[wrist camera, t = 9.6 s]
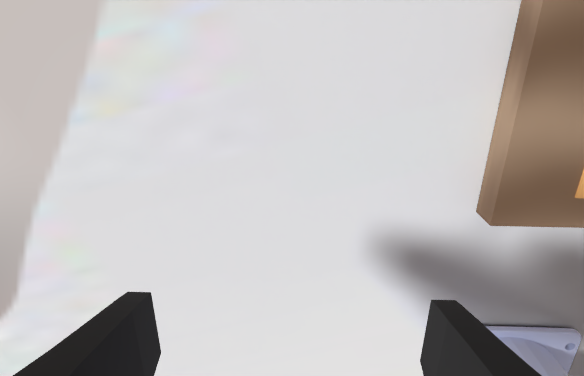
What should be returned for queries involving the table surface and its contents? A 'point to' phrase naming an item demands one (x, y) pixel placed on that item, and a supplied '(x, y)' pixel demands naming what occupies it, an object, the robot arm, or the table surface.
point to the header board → (539, 123)
